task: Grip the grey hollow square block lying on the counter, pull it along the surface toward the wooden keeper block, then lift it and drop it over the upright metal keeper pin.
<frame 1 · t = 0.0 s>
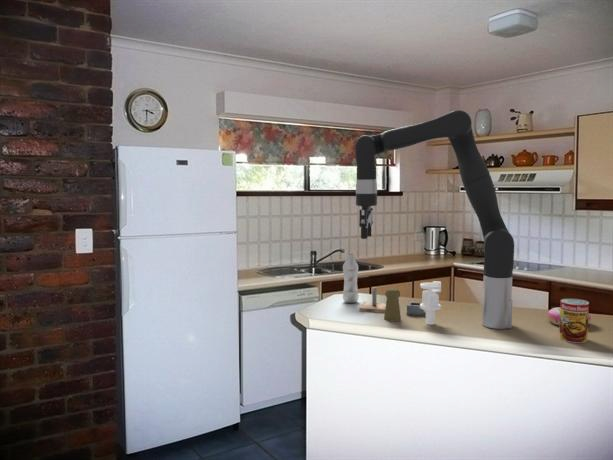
hand: (366, 237, 191), 29 cm above the table, tool pointing down, fingers open, 8 cm apart
strainer: (430, 324, 185), on the table
cork: (392, 319, 191), on the table
donut: (568, 324, 184), on the table
canned food: (573, 339, 166), on the table
keeper: (374, 308, 206), on the table
plastic bottle: (350, 303, 217), on the table
grey hollow square block: (415, 313, 199), on the table
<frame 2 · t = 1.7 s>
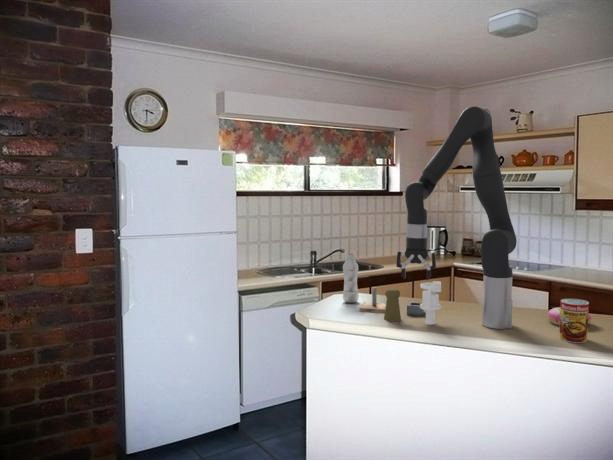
hand: (415, 279, 198), 13 cm above the table, tool pointing down, fingers open, 8 cm apart
nothing on the table moved.
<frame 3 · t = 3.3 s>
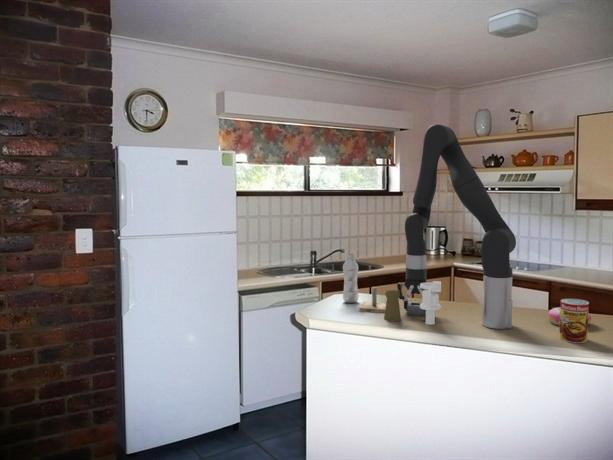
hand: (415, 310, 199), 1 cm above the table, tool pointing down, fingers closed on grey hollow square block, 6 cm apart
grey hollow square block: (415, 313, 199), on the table, touching gripper
everything else where it was.
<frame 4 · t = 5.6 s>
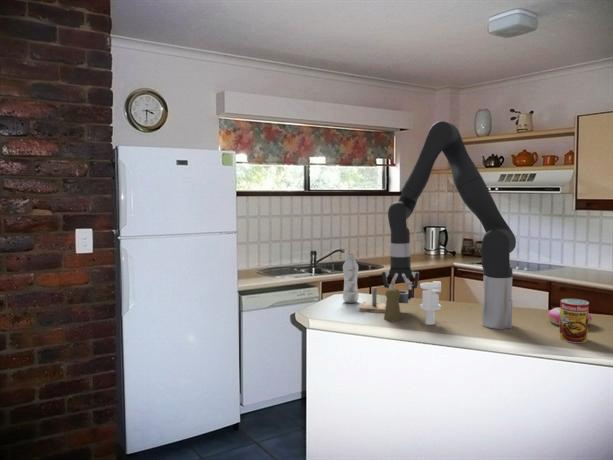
hand: (400, 298, 201), 5 cm above the table, tool pointing down, fingers closed on grey hollow square block, 6 cm apart
grey hollow square block: (400, 301, 201), point 4 cm above the table, touching gripper
everything else where it was.
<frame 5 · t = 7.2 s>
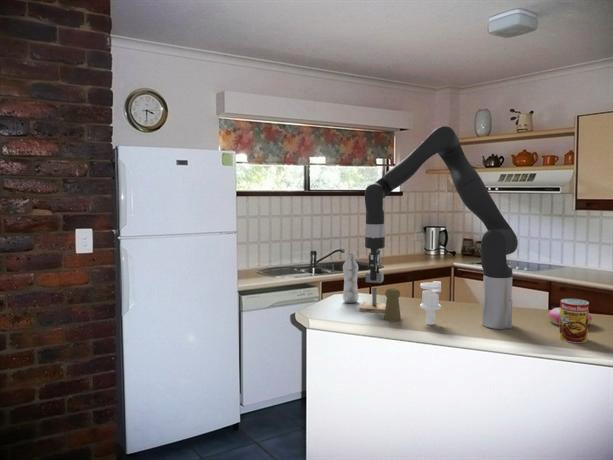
hand: (374, 278, 205), 12 cm above the table, tool pointing down, fingers closed on grey hollow square block, 6 cm apart
grey hollow square block: (374, 281, 205), point 11 cm above the table, touching gripper
everything else where it was.
when the fingers open (7 cm above the table, at t = 8.4 s): grey hollow square block drops 5 cm, resting on keeper.
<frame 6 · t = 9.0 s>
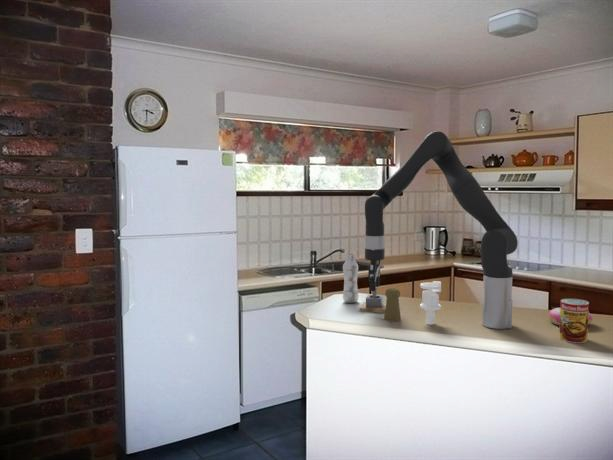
hand: (374, 288, 205), 8 cm above the table, tool pointing down, fingers open, 8 cm apart
grey hollow square block: (374, 305, 206), point 1 cm above the table, touching keeper
everything else where it was.
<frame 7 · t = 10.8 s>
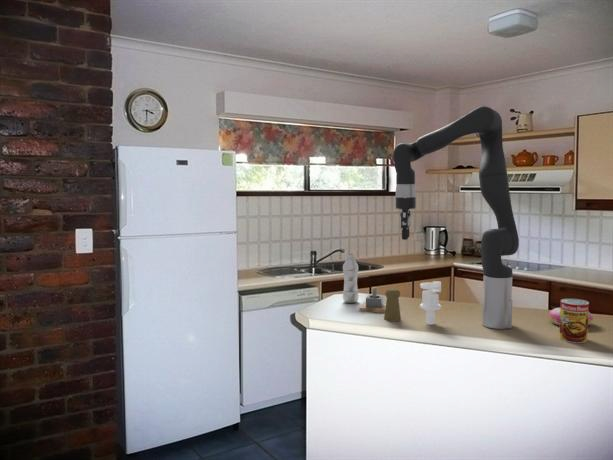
hand: (405, 238, 204), 27 cm above the table, tool pointing down, fingers open, 8 cm apart
nothing on the table moved.
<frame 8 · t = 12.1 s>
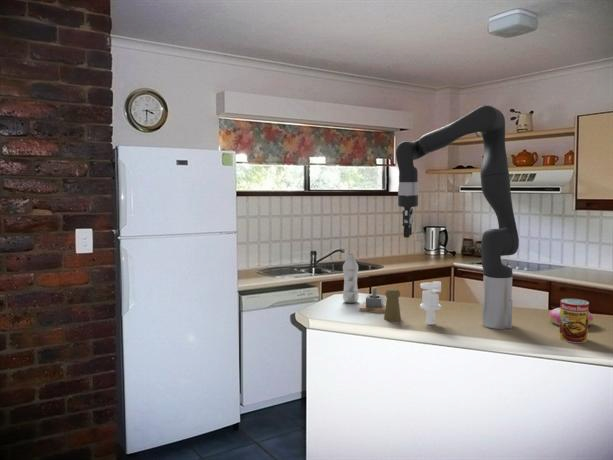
hand: (407, 236, 205), 28 cm above the table, tool pointing down, fingers open, 8 cm apart
nothing on the table moved.
at the end: grey hollow square block 0.2 cm off-centre on the keeper, point 1.2 cm above the keeper's base; the gripper is holding nothing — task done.
